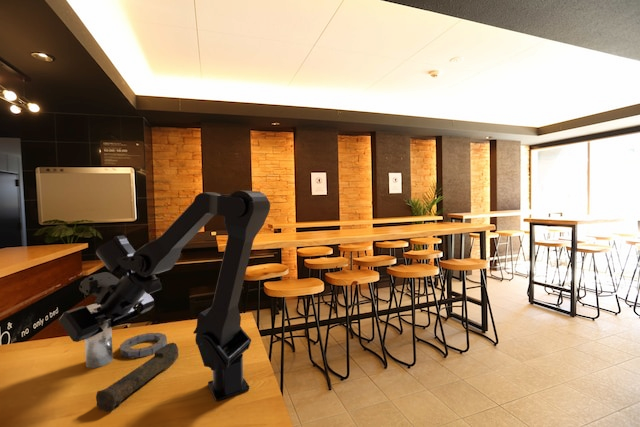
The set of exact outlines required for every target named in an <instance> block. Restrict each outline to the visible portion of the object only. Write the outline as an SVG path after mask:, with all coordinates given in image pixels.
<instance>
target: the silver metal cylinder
mask: <svg viewBox="0 0 640 427" xmlns="http://www.w3.org/2000/svg"><path fill="white" fill-rule="evenodd" d="M100 306H101V305H97V303H96V302H95V303H93V304H89V305H86V306H85V307H87V308H88V310H89V311H90V312H91V314H93V313H96V312H98V311H97V310H96V309H97V308H98V307H100ZM101 328H102V330H103V332H101V333H98V334H96V335H94V336H92V337H90V338H87V339H85V340H84V348H85V349H84V351H85V352H84V353H85V366H86V367H87V369H97V368H100V367H103V366H106V365H108V364H110V363H112V361H114V360H113V359H114V355H113V354H114V352H113V331H112V329H113V327H112V326H111V319H110V320H107V321H105V322H104V324H103V325H102V326H101Z"/></svg>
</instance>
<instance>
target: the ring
mask: <svg viewBox="0 0 640 427" xmlns="http://www.w3.org/2000/svg"><path fill="white" fill-rule="evenodd" d="M145 342H156V343H154V344H152V345H149V346H146V347H141V348H132V347H134V346H135V345H137V344H140V343H145ZM167 344H168V338H167V336H166V334H165V333H162V332H161V333H160V332H145V333H142V334H138V335H133V337H129V338H128V339H126V340H124V341H123V342H122V343H120V346H119V348H120V349H119V351H120V356H121V357H124V358H126V359H140V358H143V357H147V356H152V355H155V352H156V351H157V350H158V349H160V348H162V347H164V346H165V345H167Z"/></svg>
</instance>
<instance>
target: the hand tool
mask: <svg viewBox="0 0 640 427" xmlns="http://www.w3.org/2000/svg"><path fill="white" fill-rule="evenodd" d="M153 355H154V356H152V357H151V358H150V359H148V360H146V361H145V362H144V363H143V364H141V365H140V366H138V367H136V368H135V369H133V370H132V371H130V372H129V373H128V374H126V375H125V376H122V377H121V378H119V379H118V380H117V381H114V382H113V383H112V384H111V385H109V386H108V387H106V388H104V389H101V390H97V392H96V394H95V400H96V407H97V408H98V409H99V410H100V411H103V412H112V411H114V409H116V408H115V407H118V406H121V403H122V401H123V400H125V399H127V397H129V396H131V394H132V393H134V392H135V391H136V390H138V389H139V388H140V387H142V386H144V384H146V383H147V382H148V381H149V380H151V379H152V378H154V377H155V376H156V375H157V374H159V373H161V372H165V371H167V370H168V369H169V368H171V367H172V365H174V363H176V360H177V359H178V357H179V348H178V345H177V343H175V342H170V343H167V345H165V346H164V347H162V348H160V349H158V350H157V351H156V352H155V353H154V354H153Z"/></svg>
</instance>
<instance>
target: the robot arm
mask: <svg viewBox="0 0 640 427" xmlns="http://www.w3.org/2000/svg"><path fill="white" fill-rule="evenodd" d="M270 210H271V203H270V199H269V198H268V197H267V195H265V193H263V192H261V191H257V190H236V191H234V192H232V193H231V194H225V193H224V194H223V193H219V192H210V191H209V192H206V191H205V192H199V193H198V194H197V195H195V197H194V200H193V201H192V202H191V203H190V204H189V205H188V207H187V208H186V209H185V210H183V211H182V213H181V214H180V215H179V216H178V217H177V218H176V220H175V221H173V222H172V223H171V224H170V226H169V227H168V228H166V230H165V231H164V232H163V233H162V234H161V235H160V236H159V237H158V238H155V239H154V240H151V241H149V242H148V243H145V244H144V245H142V246H141V247H139V248H138V249H136V250H135V249H134V247H133V246H132V245H131V243H130V242H129V239H128V238H127V237H126V236H125V235H124V234H123V235H117V236H114V237H113V239H110V240H108V241H106V242H105V243H103V244H102V245H100V246H98V247H97V248H96V250H95V254H96V256H97V257H98V258H99V260H100V261H101V262H102V263H103V265H104V266H105V267H106V269H107V270H108V271H109V272H106V271H104V272H100V273H95V274H91V275H89V276H88V277H85V278H84V279H83V280H82V281H81V282H80V284H79V291H80V292H82V294H84V295H86V296H89V295H93V297H95V298H96V299H95V300H94V302H95V304H96V303H97V305H101V306H100V307H98V308H97V309H96V310H97V311H98V312H96V313H93V314H91V312H90V311H89V310H88V308H87V307H86V306H82V305H81V306H79V307H75V308H73V309H69V310H67V311H64V312H63V313H62V315H61V316H60V317H59V320H58V322H59V324H60V325H61V327H62V328H63V329H64V331H65V332H66V334H67V335H68V337H69V338H70V339H71V340H72V341H73V342H76V343H79V342H81V341H85V339H87V338H90V337H92V336H94V335H96V334H98V333H101V332H103V330H102V328H101V326H102V325H103V324H104V322H105V321H107V320H110V319H111V326H112V328H114V327H116V326H118V325H120V324H122V323H125V322H127V321H129V320H131V319H134V318H136V317H138V316H139V315H140V314H144V313H146V312H148V311H150V310H151V309H152V308H153V307H155V300H154V298H153V297H152V295H150V294H153V293H155V292H158V291H160V290H162V289H163V288H162V283H161V282H160V280H161V279H160V277H156V275H157V274H161V273H163V272H166V271H169V270H172V269H173V267H175V265H176V263H177V261H178V260H179V259H180V257H181V251H182V250H183V248H184V247H185V246H186V245H187V244H188V243H189V242H190V241H191V240H192V239H193V238H194V237H195V236H196V234H198V233H199V231H200V230H201V229H202V228H203V227H204V226H206V224H207V223H209V221H210V220H211V219H212V218H213V217H214V216H220V217H221V216H222V217H224V218H223V220H224V225H225V229H226V232H227V240H226V243H225V249H224V253H223V256H222V257H223V258H222V261H221V266H220V269H219V275H218V277H217V283H216V287H215V292H214V297H213V301H212V305H211V306H210V307H208V308H206V309H205V310H203V311H201V312H200V313H198V315H197V317H196V318H197V319H196V327H195V329H194V331H193V334H194V335H195V345H196V346H197V348H198V351H199V354H200V357H201V360H202V363H203V366H204V367H207V368H209V369H210V370H211V371H212V380H209V381H208V382H207V386H208V388H209V390H210V393H211V394H212V395H213V396H212V397H213V398H214V400H215V401H216V402H221V401H222V400H223V401H224V400H225V399H228V398H230V397H234V396H235V395H238V394H241V393H243V392H246V391H249V390H250V385H249V384H248V381H246V379H245V378H244V357H243V356H244V354H243V353H245V352H246V351H247V350H249V349H250V345H251V343H252V339H251V337H250V336H249V335H248V334H247V332H245V330H244V329H243V328H242V326H241V324H242V323H241V321H242V315H241V314H240V310H239V302H240V297H241V294H242V290H243V285H244V281H245V278H246V272H247V269H248V265H249V260H250V257H251V251H252V248H253V244H254V240H255V238H256V236H257V235H258V234H259V232H260V231H261V229H262V228H263V226H264V224H265V222H266V220H267V218H268V215H269V213H270ZM115 275H120V276H121V275H123V276H121V278H118V277H117V276H115ZM138 306H139V307H140V309H139V310H137V309H138Z"/></svg>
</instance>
